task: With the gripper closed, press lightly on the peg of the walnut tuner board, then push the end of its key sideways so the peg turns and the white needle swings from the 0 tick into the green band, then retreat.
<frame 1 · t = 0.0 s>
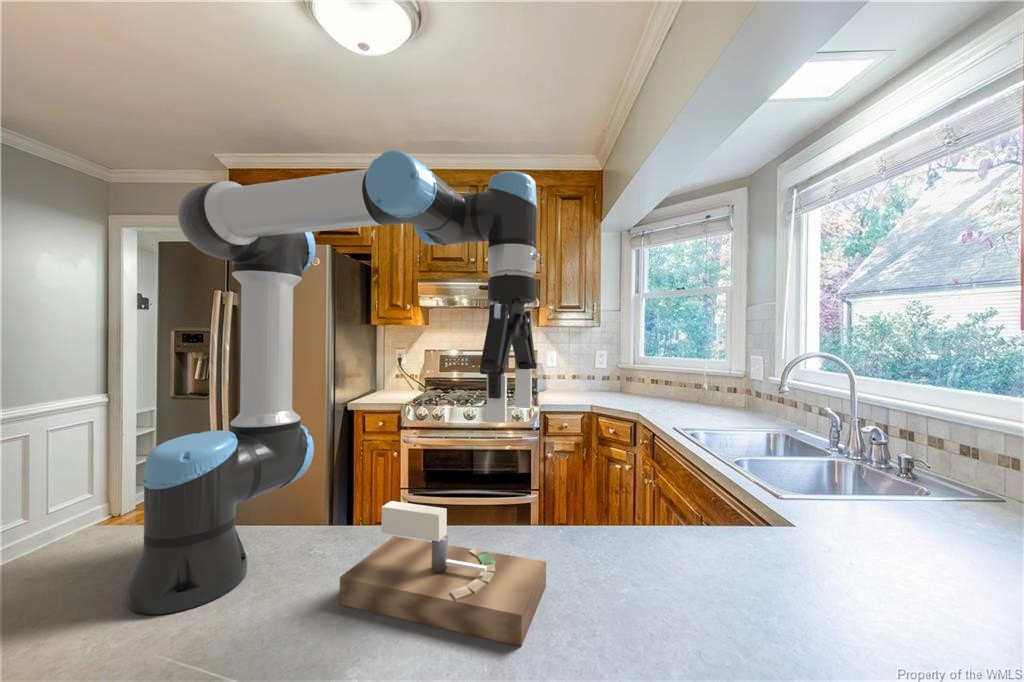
hand: (511, 414, 65), 28 cm above the countertop, fingers open, 13 cm apart
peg: (434, 538, 65), point 9 cm above the countertop, hinge at 0.0°
tuner board: (446, 595, 65), on the countertop
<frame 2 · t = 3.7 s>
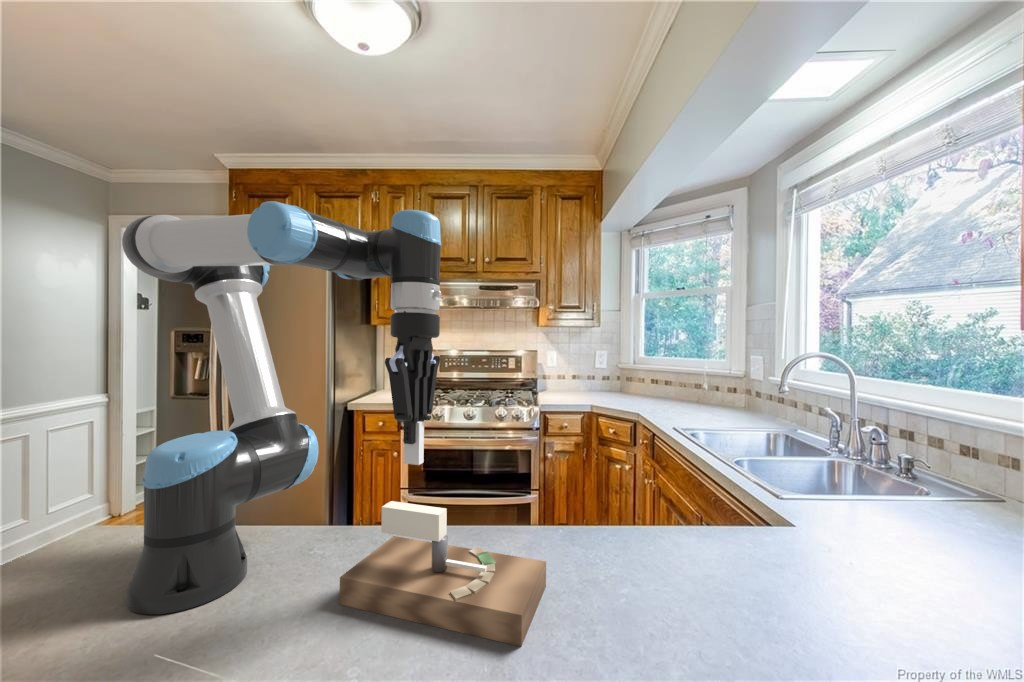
hand: (413, 462, 66), 20 cm above the countertop, fingers closed
nothing on the countertop moved.
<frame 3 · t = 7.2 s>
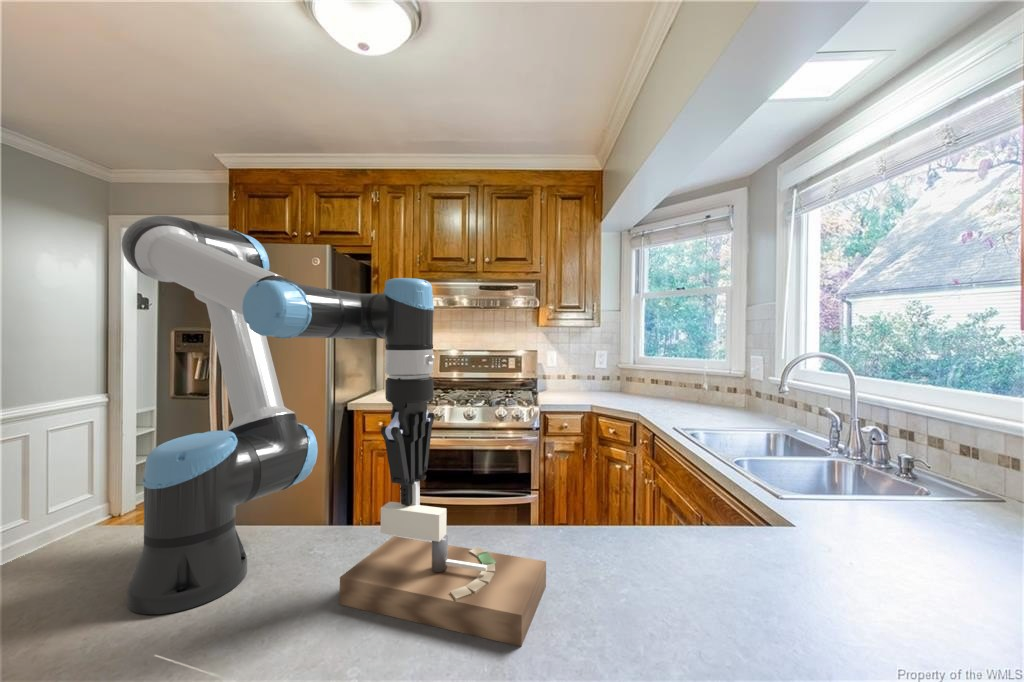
hand: (410, 521, 68), 10 cm above the countertop, fingers closed
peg: (434, 538, 65), point 9 cm above the countertop, hinge at 1.8°, touching gripper
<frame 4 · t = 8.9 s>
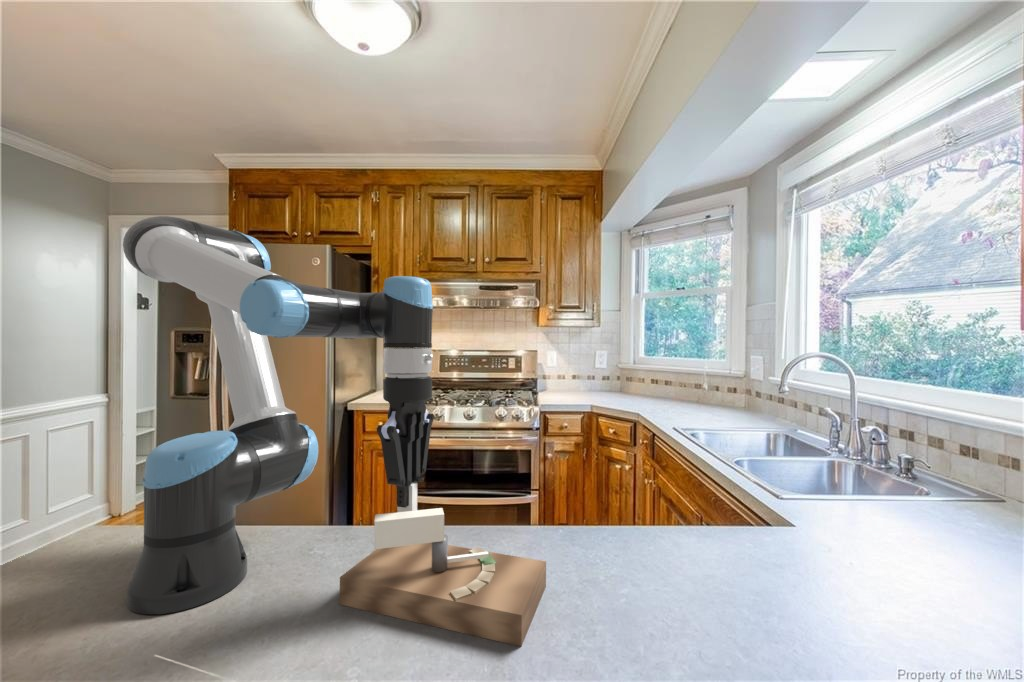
hand: (407, 524, 67), 10 cm above the countertop, fingers closed
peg: (433, 540, 64), point 9 cm above the countertop, hinge at 33.5°
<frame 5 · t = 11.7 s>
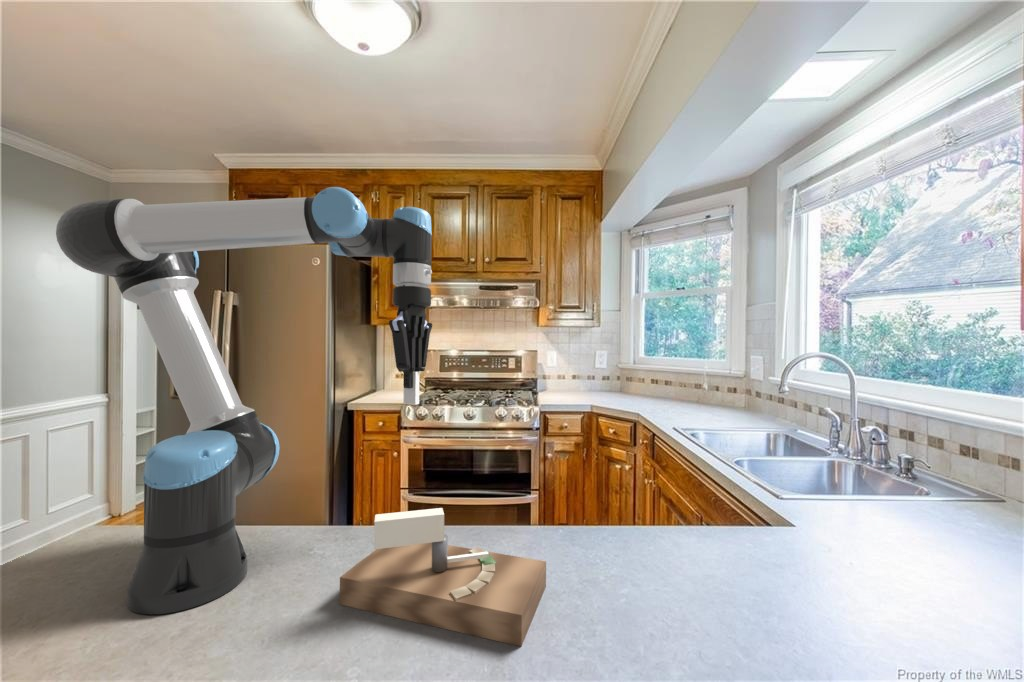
hand: (411, 403, 85), 26 cm above the countertop, fingers closed
nothing on the countertop moved.
at the end: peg at +34° (first picture: +0°) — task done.
